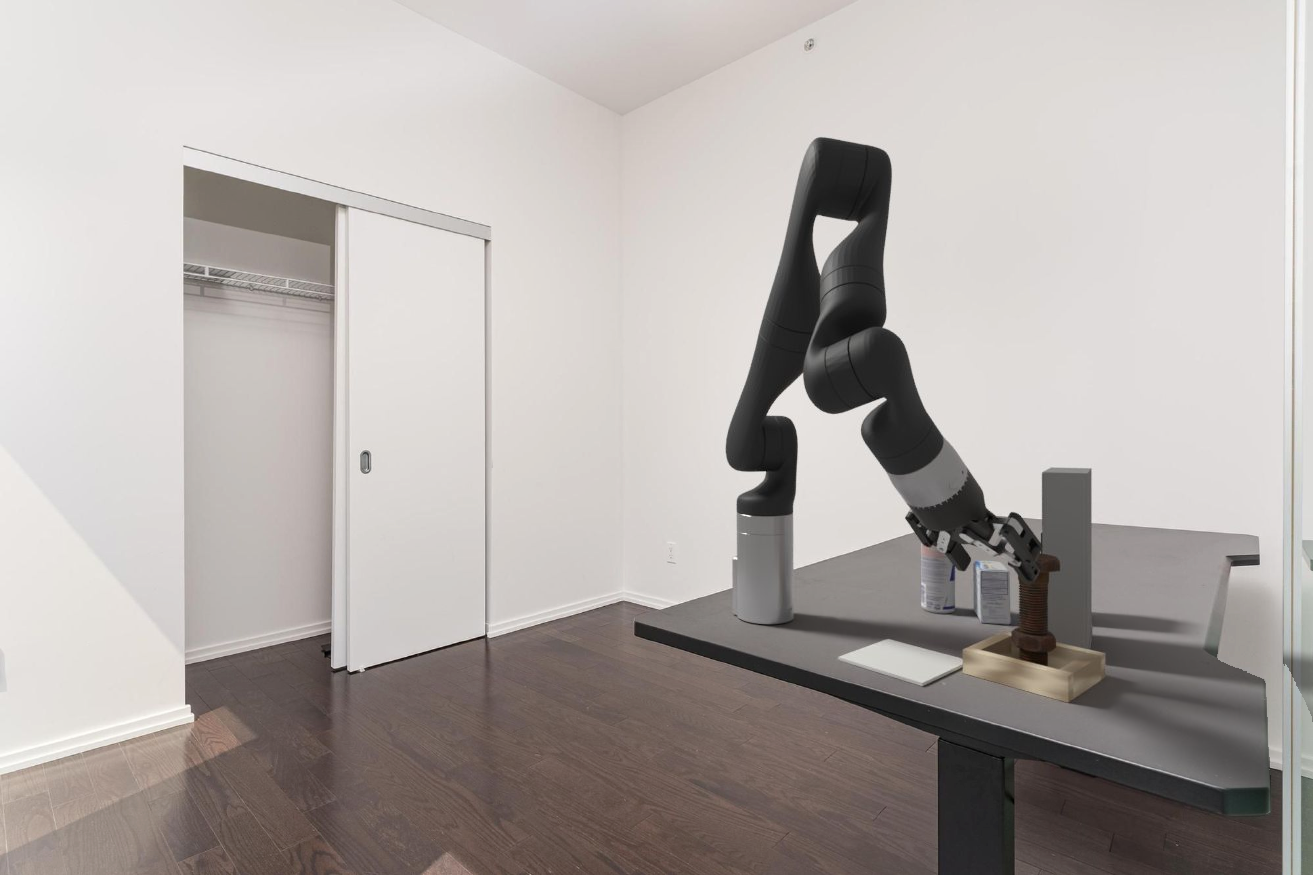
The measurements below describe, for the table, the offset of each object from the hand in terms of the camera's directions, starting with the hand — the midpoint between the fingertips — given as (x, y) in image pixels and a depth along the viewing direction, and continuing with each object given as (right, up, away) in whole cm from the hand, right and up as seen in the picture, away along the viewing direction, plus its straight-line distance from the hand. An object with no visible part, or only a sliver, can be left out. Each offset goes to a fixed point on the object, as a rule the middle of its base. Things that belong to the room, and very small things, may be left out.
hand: (997, 571), depth 79 cm
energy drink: (+7, -14, +34) cm, 38 cm away
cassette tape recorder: (+18, -14, +15) cm, 27 cm away
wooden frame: (+6, -14, +4) cm, 16 cm away
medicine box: (+14, -14, +29) cm, 35 cm away
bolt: (+6, -14, +4) cm, 16 cm away
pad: (-8, -14, +9) cm, 18 cm away
